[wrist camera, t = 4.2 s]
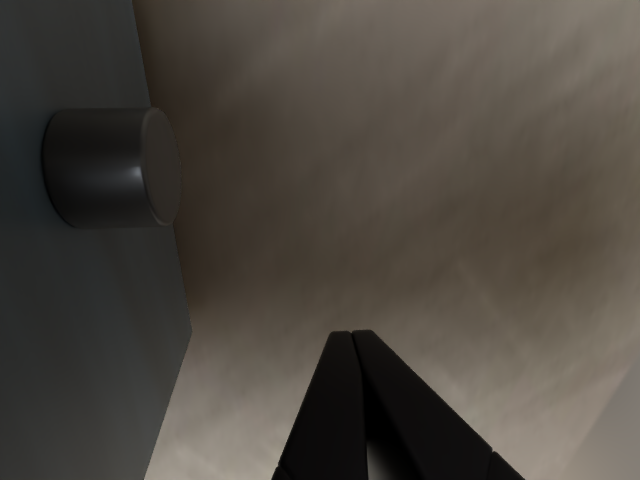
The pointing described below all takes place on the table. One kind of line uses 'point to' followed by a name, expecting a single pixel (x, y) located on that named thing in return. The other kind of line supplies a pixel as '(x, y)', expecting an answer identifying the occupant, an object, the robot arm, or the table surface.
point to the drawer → (84, 245)
